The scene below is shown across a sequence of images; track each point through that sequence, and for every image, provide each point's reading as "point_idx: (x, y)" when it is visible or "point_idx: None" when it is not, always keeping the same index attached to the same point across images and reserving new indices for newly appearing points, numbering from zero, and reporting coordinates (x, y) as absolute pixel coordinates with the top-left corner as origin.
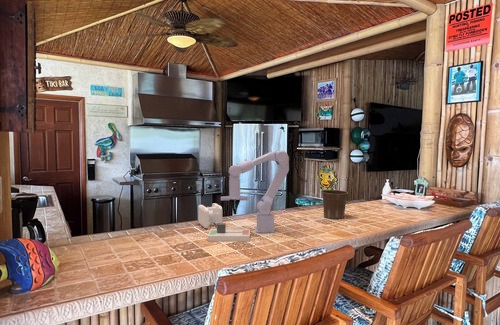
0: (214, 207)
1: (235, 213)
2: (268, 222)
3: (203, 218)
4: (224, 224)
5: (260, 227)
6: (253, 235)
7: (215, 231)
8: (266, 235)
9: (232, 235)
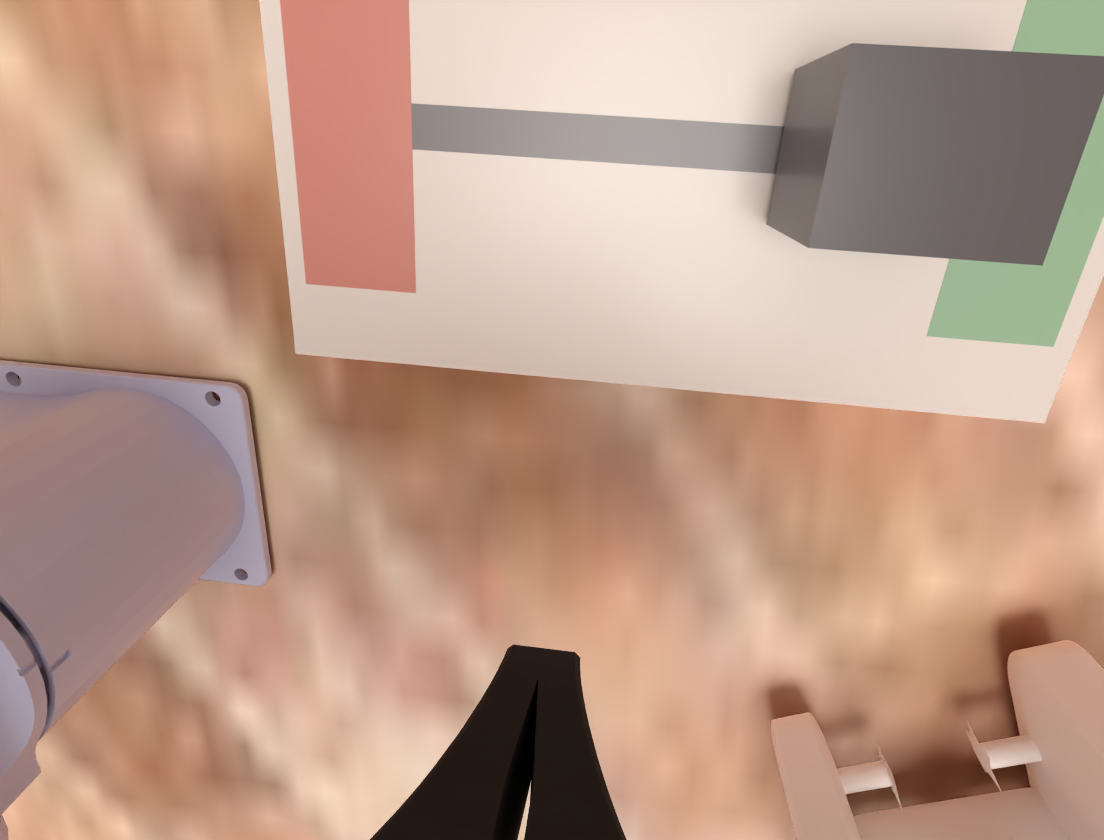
0: None
1: (520, 662)
2: None
3: None
4: (862, 96)
5: (131, 428)
6: (270, 244)
7: None
8: (67, 230)
9: None
